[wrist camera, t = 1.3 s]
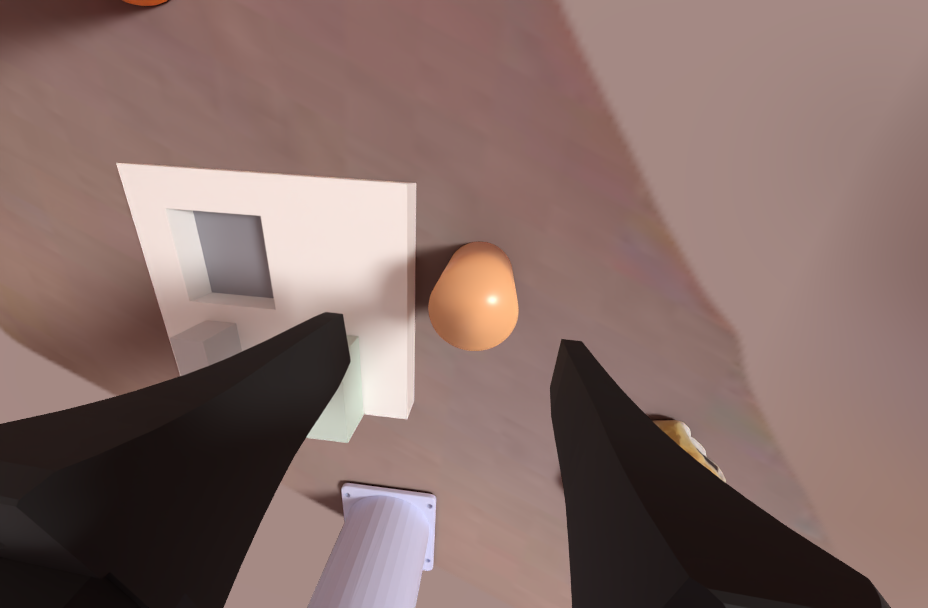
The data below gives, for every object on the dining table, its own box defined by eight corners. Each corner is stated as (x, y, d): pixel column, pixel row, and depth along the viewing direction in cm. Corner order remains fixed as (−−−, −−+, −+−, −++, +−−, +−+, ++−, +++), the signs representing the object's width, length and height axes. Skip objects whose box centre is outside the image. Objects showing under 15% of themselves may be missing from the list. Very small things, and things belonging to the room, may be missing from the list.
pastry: (608, 514, 27) (625, 565, 23) (554, 464, 25) (563, 510, 22) (718, 458, 24) (757, 507, 20) (664, 399, 22) (695, 440, 19)
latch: (363, 415, 22) (347, 442, 20) (321, 410, 22) (300, 437, 20) (358, 336, 20) (340, 357, 18) (311, 331, 20) (287, 351, 18)
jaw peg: (508, 307, 21) (512, 355, 15) (445, 301, 21) (427, 346, 15) (516, 244, 19) (524, 271, 14) (448, 238, 19) (429, 263, 14)
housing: (414, 400, 24) (396, 447, 20) (208, 377, 25) (150, 417, 21) (416, 183, 18) (392, 184, 14) (152, 164, 19) (58, 160, 15)
